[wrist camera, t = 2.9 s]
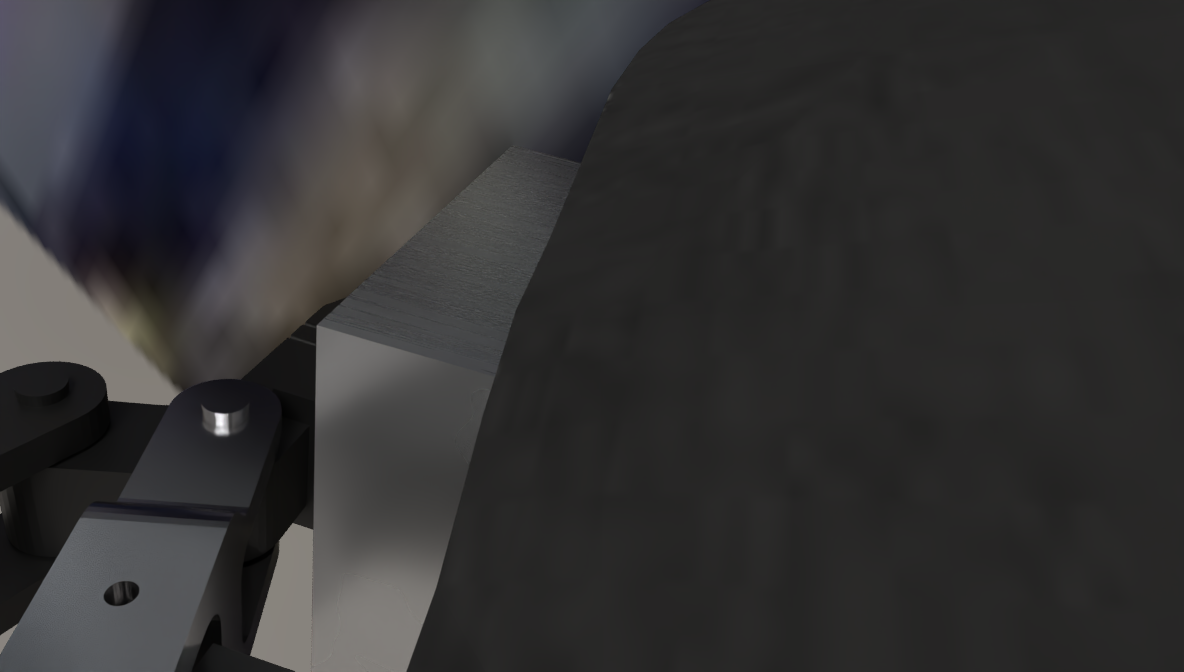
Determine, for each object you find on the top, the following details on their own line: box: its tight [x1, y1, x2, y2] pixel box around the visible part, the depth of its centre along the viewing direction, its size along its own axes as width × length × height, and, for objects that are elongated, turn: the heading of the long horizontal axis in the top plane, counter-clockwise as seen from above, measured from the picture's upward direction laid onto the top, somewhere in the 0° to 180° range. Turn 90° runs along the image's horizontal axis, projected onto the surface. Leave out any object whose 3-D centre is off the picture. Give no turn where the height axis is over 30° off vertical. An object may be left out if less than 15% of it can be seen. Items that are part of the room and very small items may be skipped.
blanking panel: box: [311, 145, 581, 672], centre depth 11 cm, size 7×3×6 cm, turn 169°
